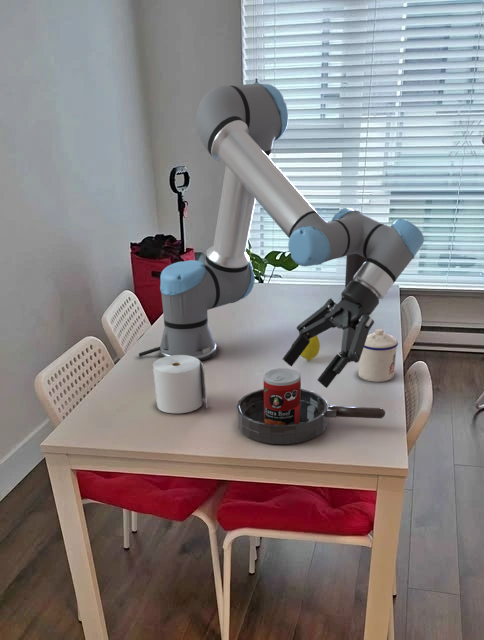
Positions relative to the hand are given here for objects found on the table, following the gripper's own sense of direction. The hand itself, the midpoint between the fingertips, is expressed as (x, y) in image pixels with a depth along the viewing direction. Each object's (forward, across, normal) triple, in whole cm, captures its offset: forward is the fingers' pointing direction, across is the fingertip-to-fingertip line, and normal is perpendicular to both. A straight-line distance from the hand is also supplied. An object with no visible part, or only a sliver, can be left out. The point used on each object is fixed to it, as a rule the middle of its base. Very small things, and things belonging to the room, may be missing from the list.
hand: (303, 373), depth 142 cm
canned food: (+11, 0, -4) cm, 12 cm away
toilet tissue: (+21, +21, +6) cm, 31 cm away
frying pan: (+11, 0, -4) cm, 12 cm away
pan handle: (+1, -9, -11) cm, 14 cm away
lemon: (-6, +28, -22) cm, 36 cm away
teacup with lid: (-13, +12, -28) cm, 33 cm away
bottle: (-36, +65, -51) cm, 90 cm away
